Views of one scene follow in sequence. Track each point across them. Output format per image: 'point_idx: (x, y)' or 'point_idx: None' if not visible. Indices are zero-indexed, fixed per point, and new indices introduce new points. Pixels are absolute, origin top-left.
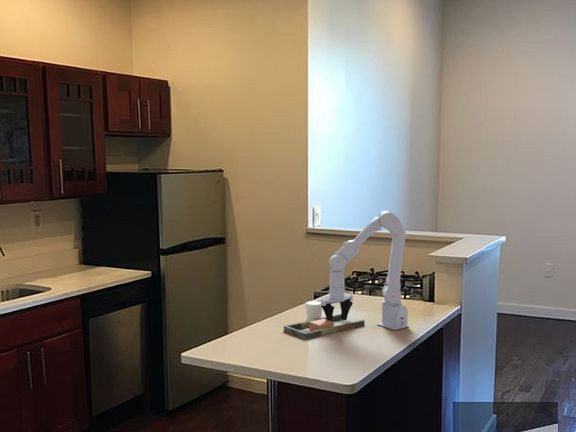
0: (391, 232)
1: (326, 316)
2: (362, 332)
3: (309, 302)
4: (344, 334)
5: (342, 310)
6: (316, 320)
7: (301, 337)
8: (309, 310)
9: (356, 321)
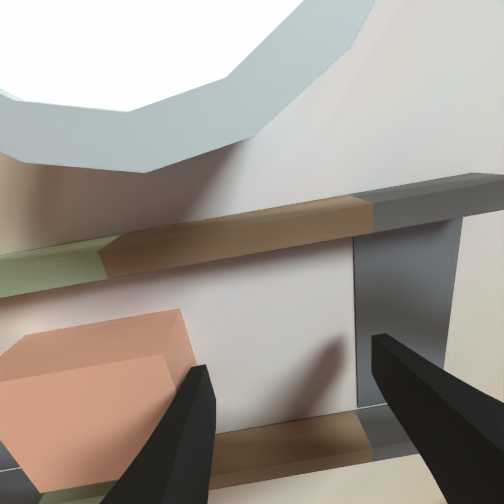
0: None
1: (168, 420)
2: (326, 493)
3: None
4: (215, 491)
5: (438, 416)
6: (59, 374)
7: None
8: None
9: (402, 446)
